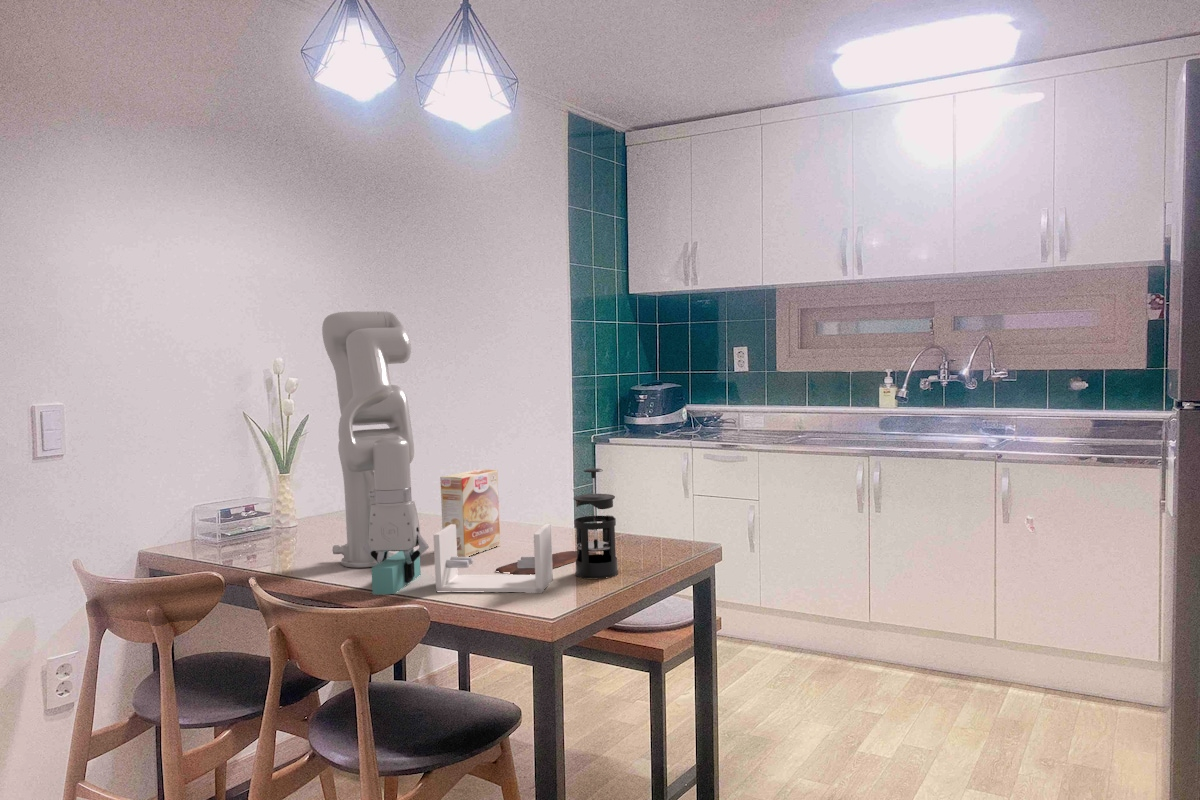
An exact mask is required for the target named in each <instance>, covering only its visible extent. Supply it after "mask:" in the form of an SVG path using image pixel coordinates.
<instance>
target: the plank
mask: <svg viewBox="0 0 1200 800" xmlns="http://www.w3.org/2000/svg"><path fill="white" fill-rule="evenodd" d="M415 551H416V550H414V552H415ZM405 564H406V559H405V556H404V552H403V551H397V552H396V553H394V555H393V556H391V557H389V558H387V559H386V560H384V561H382V562H381V563H379V564H377V565H376V566H374V567H370V568H371V571H370V572H371V587H372V590H371V591H372V595H380V594H394V593H395V594H396V592H397V591H398V592H400V591H401V590H402V589H404V588H405V587H406V586H408V585H409V584H411V583H412V582H413V581H415V580H416V579H418V578H419V577H420V576H421V575H422V574H421V573H422V572H421V555H420V556H419V557H418V558H417V559H416V560H415V561H414V572H415V575H414V578H413V580H412V582H411V581H410V582H411V583H410V582H409V584H408V583H406V582H405V573H404V565H405ZM419 575H420V576H419ZM418 576H419V577H418ZM417 577H418V578H417ZM415 578H416V579H415ZM414 579H415V580H414ZM407 584H408V585H407ZM405 585H406V586H405ZM404 586H405V587H404ZM403 587H404V588H403ZM401 588H402V589H401ZM400 589H401V590H400ZM398 592H397V593H398ZM395 594H394V595H395Z"/></svg>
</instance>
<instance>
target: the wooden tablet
mask: <svg viewBox="0 0 1200 800" xmlns="http://www.w3.org/2000/svg"><path fill="white" fill-rule="evenodd" d="M593 554H597V552H596V551H595V552H589V555H593ZM576 559H577V550H570V551H569V550H568V551H567V550H565V551H561V552H555V553H552V566H553V569H556V568H555V567H557V568H560V567H563V566H566V565H569V564H572V562H573V563H575V562H574V561H576ZM568 563H569V564H568ZM565 564H566V565H565ZM562 565H563V566H562ZM559 566H560V567H559ZM496 571H499V572H510V574H513V575H530V574H532V575H535V574H534V573H535V568H518V567H517V561H516V562H511V563H509V564H504V565H502V566H500V567H496V569H495V572H496Z"/></svg>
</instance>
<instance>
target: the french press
mask: <svg viewBox="0 0 1200 800" xmlns="http://www.w3.org/2000/svg"><path fill="white" fill-rule="evenodd" d="M603 471H604V470H603V469H602V468H599V467H598V468H595V467H594V468H593V467H592V468H587V469H584V470H583V472H584V473H590V476H591V479H592V492H593V493H588V494H581V495H576V496H574V497H573V500H574V501H575V508H578V507H581V506H584V505H592V507H593V515H590V516H589V515H586V516H581V517H577V518H574V527H575V529H576V551H577V559H576V562H575V576H576V577H577V576H578V577H577V578H579V577H581V578H580V579H584V578H605V579H607V578H606V577H610V578H613V577H612V576H614V577H616V576H618V575H619V569H618V558H617V557H616V556H617V555H616V554H617V553H616V529H615V528H616V527H615V526H616V525H617V523H616V522H617V519H616V517H614V515H608V514H607V515H596V511H597V510H596V509H598V510H607V509H611V508H613V507H614V500H615V498H616V496H615V495H613V494H608V493H596V491H595V490H596V488H595V487H596V485H595V483H596V482H595V479H596V475H597V474H596V473H600V472H603ZM589 530H594V539H593V540H589ZM597 530H602V540H598V539H597ZM589 552H595V553H596V552H603V553H601V554H600V553H599V554H598V553H596V554H593V555H589ZM617 574H618V575H617ZM615 575H616V576H615Z"/></svg>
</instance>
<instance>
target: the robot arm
mask: <svg viewBox="0 0 1200 800" xmlns="http://www.w3.org/2000/svg"><path fill="white" fill-rule="evenodd" d="M321 330H322V334H321V335H322V340H323V341H322V342H323V345H324V348H325V351H326V353H327V355H328V358H329V359H330V362H331V364H332V367H333V370H334V373H335V379H336V380H335V381H336V389H337V398H338V403H339V411H340V418H339V421H338V428H337V429H338V432H337V433H338V440H339V441H338V447H337V448H338V455H339V461H340V466H341V471H342V477H343V489H344V506H345V523H346V524H345V525H346V527H345V528H346V529H345V530H346V543H345V544H343V545H342V544H333V546H332V549H331V550H332V554H333V555H342V556H343V557H342V558H341V565H342V566H344V567H347V568H356V569H357V568H372V567H374V566H376V565H377V564H379V563H381V562H382V561H384V560H386V559H387V558H389V557H391V556H393V555H394V554H395V553H394V552H399V551H403V552H404V556H405V559H406V564H405V565H404V573H405V582H406V583H409V582H410V581H412V580H413V578H414V575H415V572H414V561H415V560H416V559H417V558H418V557H419V556H420V557H421V555H422V554H423V553H424V552H426V551H427V550H428V549H429V548H430V546H429V544H428V543H427V542H426V540H425V539H424V538H423V536H422V535H421V529H420V522H419V514H418V512H417V506H416V503H415V500H414V501H412V487H411V486H412V482H411V463H412V462H413V460H414V457H415V456H414V455H415V443H414V435H413V430H412V429H413V428H412V422H411V421H412V420H411V415H410V409H409V407H410V406H409V403H408V396H407V394H406V393H405V391H404V389H403V388H402V387H401V386H399V385H395V384H391V379H390V372H389V367H388V366H389V365H391V364H393V365H394V364H405V363H407V362H408V361H409V360H410V357H411V353H412V347H411V346H412V344H411V341H410V336H409V334H408V332H407V330H406V327H405V326H404V325H403V323H402V322H401V321H400V319H399V318H398V317H397V315H396V314H395V313H393V312H390V311H384V310H381V311H380V310H379V311H355V310H354V311H340V312H334V313H331V314H329V315H327V316H326V317H325V318H324V320H323V321H322V327H321ZM371 425H373V426H376V425H387V426H388V427H389V428H369V429H357V430H356V429H355V430H353V426H357V427H358V426H371ZM416 547H418V548H417V549H416V550H414V549H415V548H416ZM414 551H415V552H414ZM413 581H414V580H413ZM413 581H412V582H413ZM409 584H410V583H409Z"/></svg>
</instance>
